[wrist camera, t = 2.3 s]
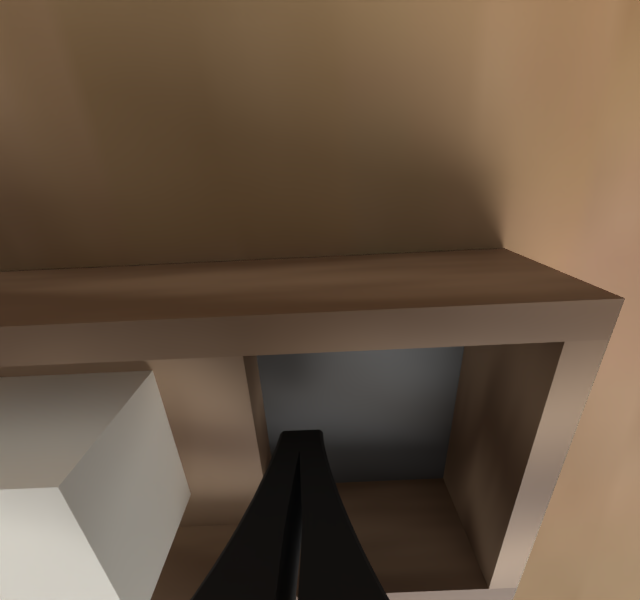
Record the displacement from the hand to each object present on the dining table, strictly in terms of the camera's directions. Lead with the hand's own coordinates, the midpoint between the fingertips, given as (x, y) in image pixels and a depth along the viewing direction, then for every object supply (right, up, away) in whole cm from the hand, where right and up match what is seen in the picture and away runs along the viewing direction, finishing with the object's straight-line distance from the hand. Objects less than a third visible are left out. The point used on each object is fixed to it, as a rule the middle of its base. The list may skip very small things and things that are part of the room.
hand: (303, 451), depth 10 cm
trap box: (-9, +1, +3) cm, 9 cm away
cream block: (-8, 0, +1) cm, 8 cm away
